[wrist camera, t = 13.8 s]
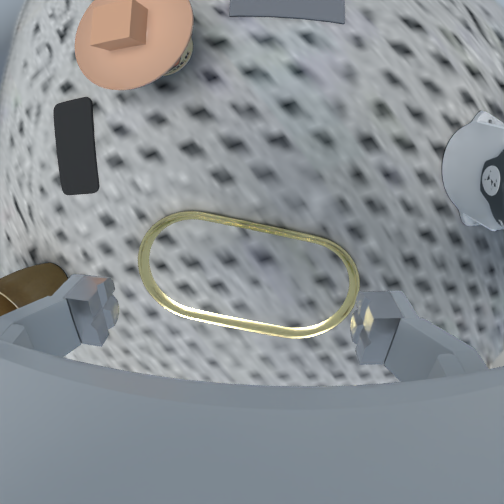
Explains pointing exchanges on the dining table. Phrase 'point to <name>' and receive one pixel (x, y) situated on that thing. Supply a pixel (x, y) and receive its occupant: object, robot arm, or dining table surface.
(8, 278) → the plant pot
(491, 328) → the dining table surface
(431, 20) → the dining table surface
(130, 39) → the lid
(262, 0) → the mat
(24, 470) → the robot arm
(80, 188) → the phone
